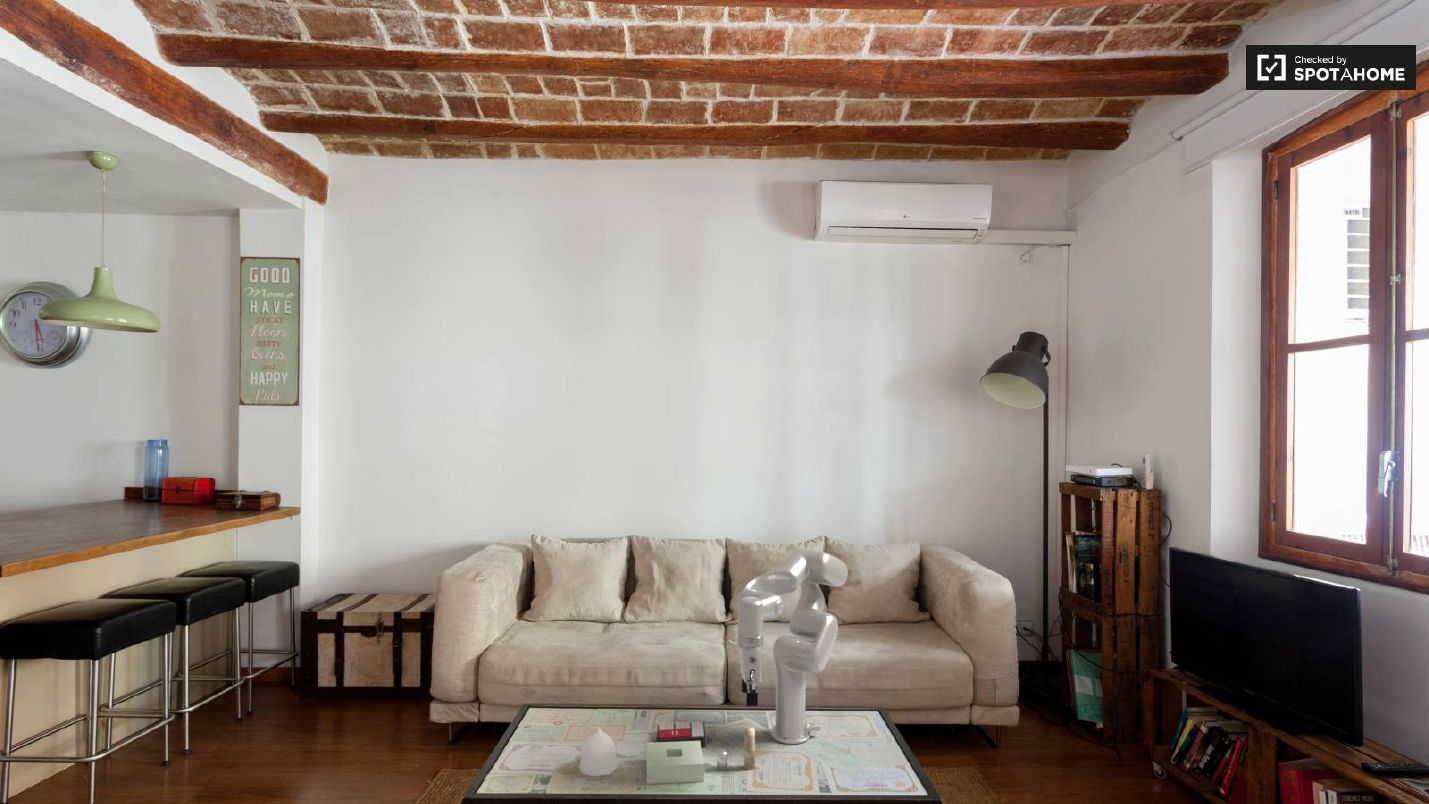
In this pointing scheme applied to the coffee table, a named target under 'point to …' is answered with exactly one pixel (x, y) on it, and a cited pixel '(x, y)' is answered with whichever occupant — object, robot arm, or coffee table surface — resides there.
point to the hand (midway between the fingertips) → (749, 699)
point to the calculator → (682, 732)
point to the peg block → (674, 762)
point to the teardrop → (598, 754)
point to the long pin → (749, 749)
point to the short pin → (722, 759)
